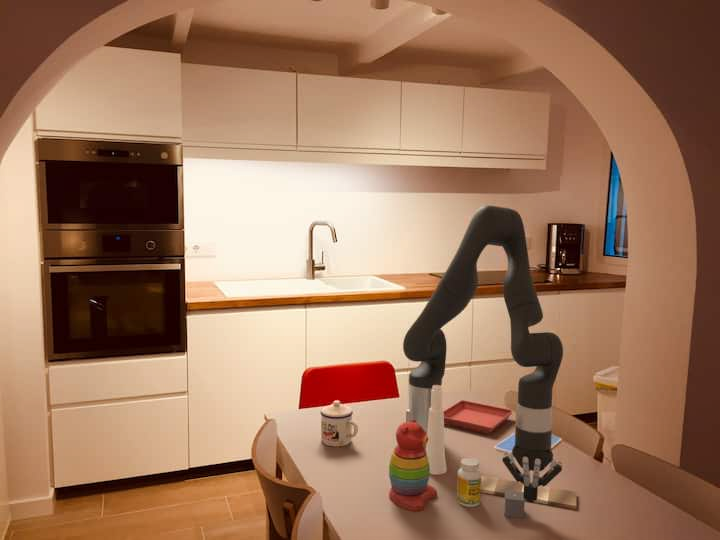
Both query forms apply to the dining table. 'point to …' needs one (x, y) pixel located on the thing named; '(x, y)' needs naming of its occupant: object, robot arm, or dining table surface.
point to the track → (543, 495)
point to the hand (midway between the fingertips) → (530, 500)
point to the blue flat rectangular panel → (510, 443)
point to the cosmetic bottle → (436, 433)
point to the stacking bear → (410, 468)
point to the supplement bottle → (469, 483)
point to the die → (514, 504)
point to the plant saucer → (475, 416)
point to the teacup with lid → (337, 425)
